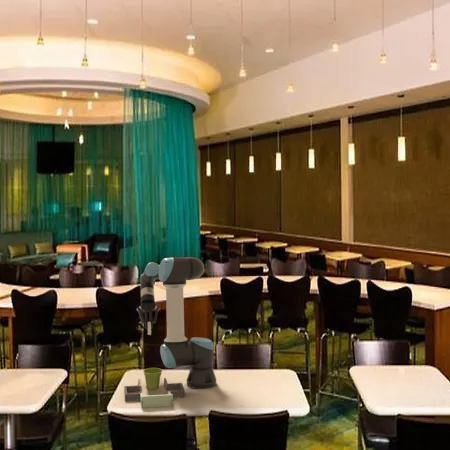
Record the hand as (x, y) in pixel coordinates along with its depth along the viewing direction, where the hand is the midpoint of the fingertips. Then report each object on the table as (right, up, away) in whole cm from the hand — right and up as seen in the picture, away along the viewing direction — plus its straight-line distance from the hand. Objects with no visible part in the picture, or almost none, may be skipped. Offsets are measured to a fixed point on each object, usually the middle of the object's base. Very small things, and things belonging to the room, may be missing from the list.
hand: (149, 333), depth 299 cm
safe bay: (+9, -24, -41) cm, 48 cm away
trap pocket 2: (+16, -23, -29) cm, 41 cm away
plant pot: (+5, -23, -22) cm, 32 cm away
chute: (+5, -23, -22) cm, 32 cm away
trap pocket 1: (-3, -23, -34) cm, 41 cm away
